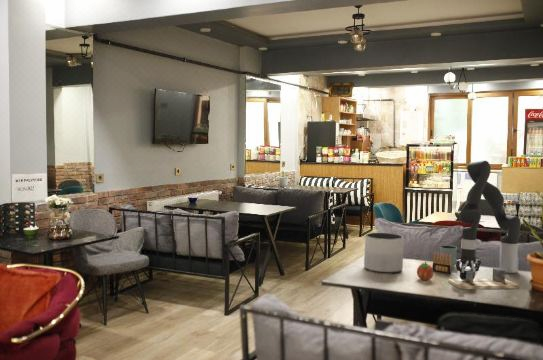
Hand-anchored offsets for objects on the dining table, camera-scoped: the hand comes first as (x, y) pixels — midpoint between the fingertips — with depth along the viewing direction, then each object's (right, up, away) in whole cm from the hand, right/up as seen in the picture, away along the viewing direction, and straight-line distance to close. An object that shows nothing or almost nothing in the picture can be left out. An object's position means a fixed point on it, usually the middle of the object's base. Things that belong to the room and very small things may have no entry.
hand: (467, 278), depth 277 cm
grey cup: (+3, 0, +41) cm, 41 cm away
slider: (0, -1, -1) cm, 2 cm away
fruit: (-20, -2, +8) cm, 22 cm away
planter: (-38, 0, +29) cm, 48 cm away
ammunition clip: (-5, -1, +25) cm, 25 cm away
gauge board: (+8, -3, -1) cm, 9 cm away
